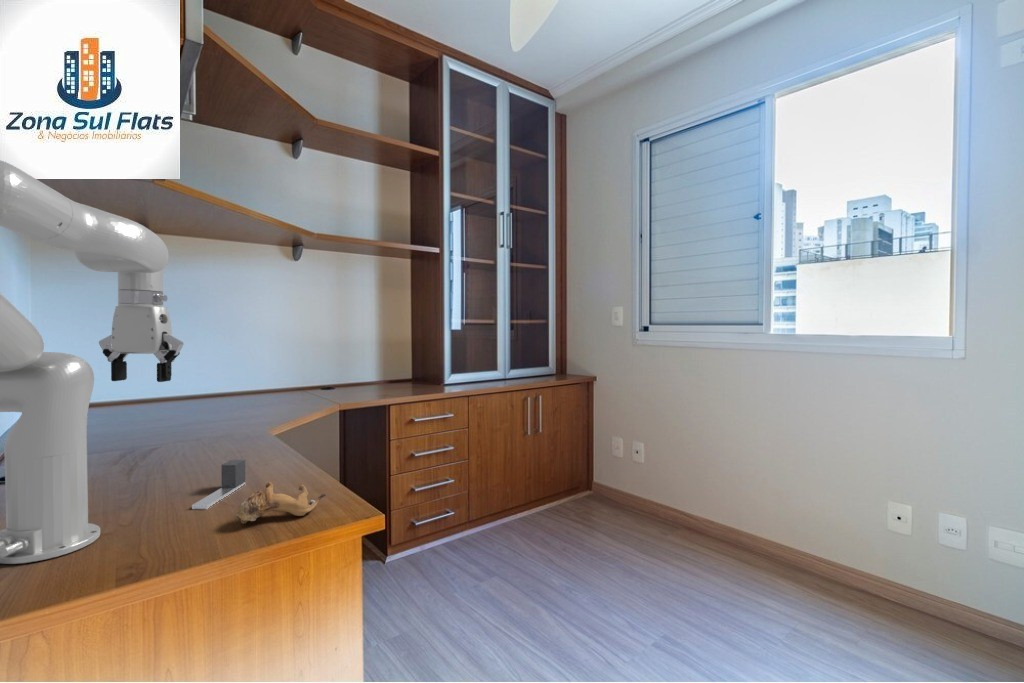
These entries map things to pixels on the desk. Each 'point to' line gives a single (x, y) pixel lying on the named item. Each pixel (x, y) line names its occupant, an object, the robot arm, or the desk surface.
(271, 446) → the desk surface
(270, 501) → the lion figurine
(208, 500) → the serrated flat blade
